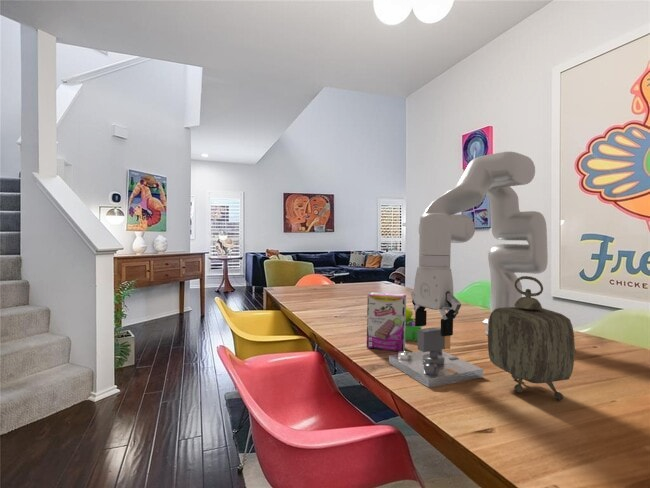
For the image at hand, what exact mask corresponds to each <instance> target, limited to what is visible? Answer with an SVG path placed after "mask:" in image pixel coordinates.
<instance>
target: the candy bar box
mask: <svg viewBox="0 0 650 488" xmlns="http://www.w3.org/2000/svg"><path fill="white" fill-rule="evenodd" d="M406 307H407V294H403V293H402V294H401V293H400V294H399V293H388V292H376V291H375V292H373V291H372V292H370V293H368V294H367V313H366V314H367V316H366V321H367V323H366V348H367V349H377V350H384V351H390V352H391V351H393V352H400V351H405V348H406V340H405V325H406Z"/></svg>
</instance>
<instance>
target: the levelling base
mask: <svg viewBox="0 0 650 488" xmlns="http://www.w3.org/2000/svg"><path fill="white" fill-rule="evenodd" d="M429 352H430V351H429ZM429 352H422V351H420V350H418V351H412V352H411V351H408V350H404V351H400V352H399V351H397V354H391V355H388V363H389V365H391V366H393V367H395V368H397V369H398V370H399V371H401V372H402V373H404V374H406V375H407V376H409V377H410V378H412V379H414V380H416V381H417V382H418V383H419V384H422V385H423V386H424V387H427V388H429V389H430V388H435V387H440V386H445V385H451V384H456V383H462V382H466V381H471V380H476V379H483V378H484V368H482V367H480V366H477V365H475V364H473V363H471V362H469V361H466V360H464V359H462V358H459V357H457V356H454V355H453V354H450V353H447V352H445V350H438V355H440V356H442V357H444V359H445V360H444V363H443V364H439V365H437V364H435V363H432V362H424V361H423V355H426V354H429Z"/></svg>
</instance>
